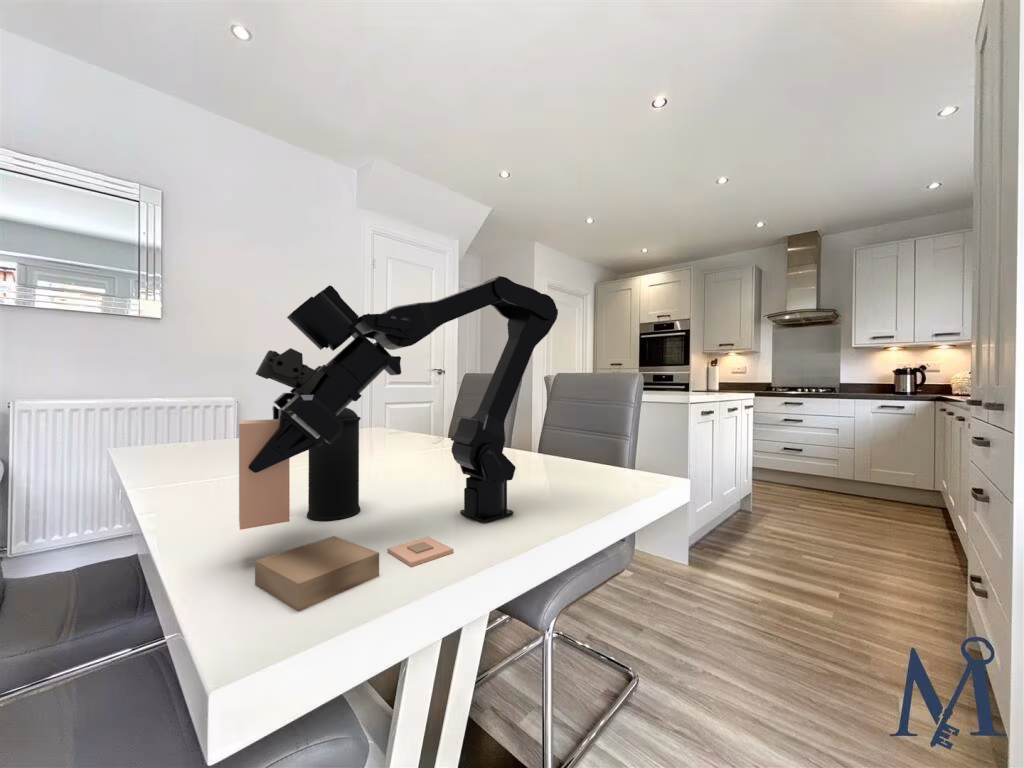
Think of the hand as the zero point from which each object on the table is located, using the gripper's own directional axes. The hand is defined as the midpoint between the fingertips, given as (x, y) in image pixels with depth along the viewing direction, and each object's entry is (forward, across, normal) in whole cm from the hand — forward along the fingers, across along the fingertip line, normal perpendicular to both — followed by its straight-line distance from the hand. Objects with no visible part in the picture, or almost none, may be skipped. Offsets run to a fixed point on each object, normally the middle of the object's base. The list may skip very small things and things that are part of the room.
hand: (250, 466), depth 49 cm
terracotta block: (+4, 0, +6) cm, 7 cm away
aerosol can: (0, -15, +17) cm, 23 cm away
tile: (-4, +8, +21) cm, 23 cm away
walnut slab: (+4, +9, +13) cm, 16 cm away
